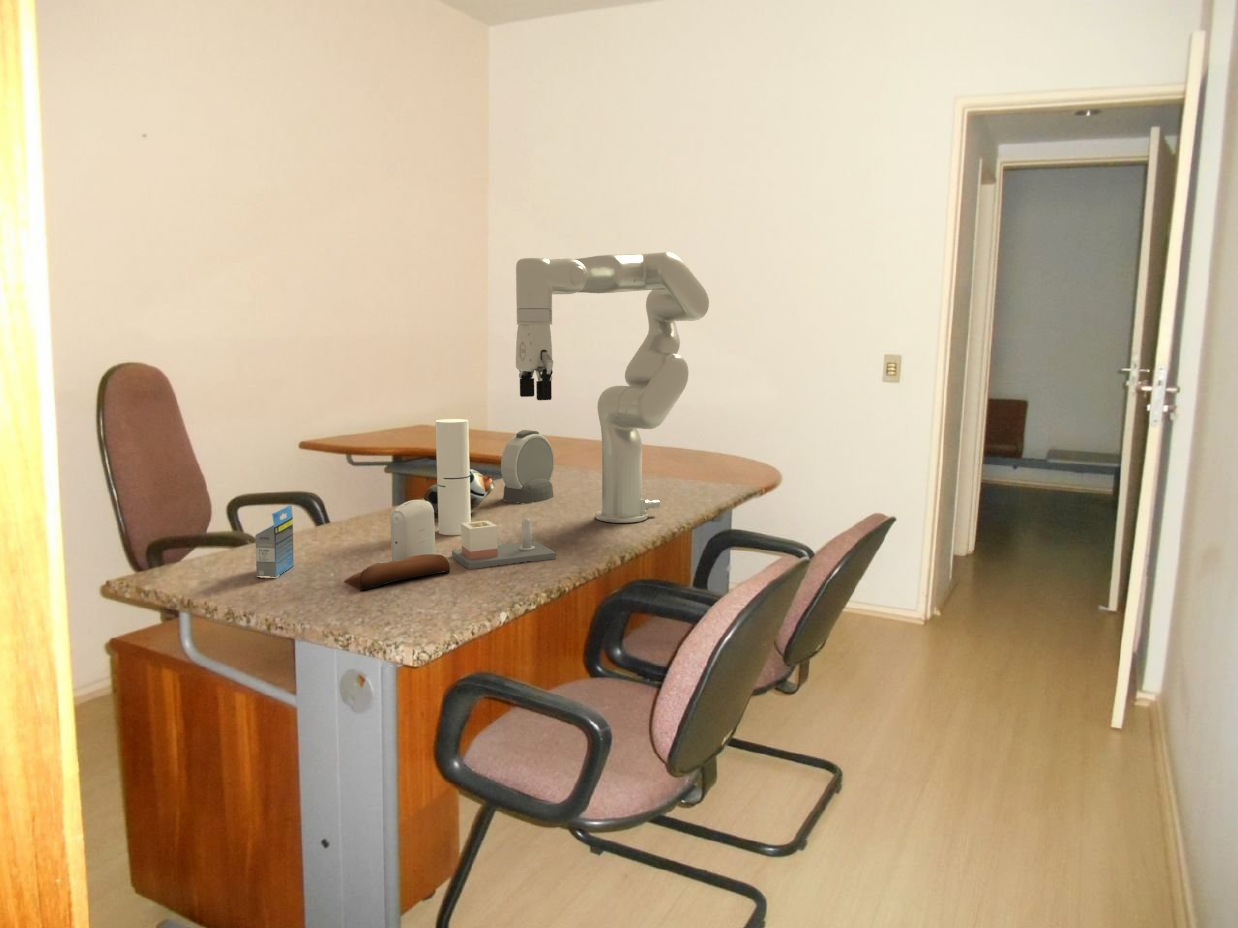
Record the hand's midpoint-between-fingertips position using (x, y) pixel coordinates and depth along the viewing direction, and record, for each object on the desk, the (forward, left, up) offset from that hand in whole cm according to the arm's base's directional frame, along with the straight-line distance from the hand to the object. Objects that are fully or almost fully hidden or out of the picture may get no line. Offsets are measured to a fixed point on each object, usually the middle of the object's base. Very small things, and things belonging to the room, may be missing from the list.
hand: (535, 398), depth 199 cm
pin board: (+13, +15, -30) cm, 36 cm away
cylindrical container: (+15, -12, -31) cm, 36 cm away
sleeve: (+18, +15, -29) cm, 37 cm away
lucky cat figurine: (+8, -31, -31) cm, 44 cm away
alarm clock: (-14, -41, -31) cm, 53 cm away
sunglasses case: (+36, +20, -31) cm, 51 cm away
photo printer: (+30, +11, -31) cm, 44 cm away
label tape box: (+55, +6, -31) cm, 63 cm away
